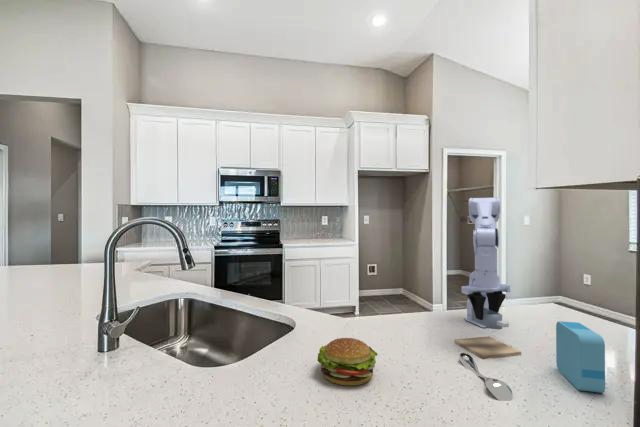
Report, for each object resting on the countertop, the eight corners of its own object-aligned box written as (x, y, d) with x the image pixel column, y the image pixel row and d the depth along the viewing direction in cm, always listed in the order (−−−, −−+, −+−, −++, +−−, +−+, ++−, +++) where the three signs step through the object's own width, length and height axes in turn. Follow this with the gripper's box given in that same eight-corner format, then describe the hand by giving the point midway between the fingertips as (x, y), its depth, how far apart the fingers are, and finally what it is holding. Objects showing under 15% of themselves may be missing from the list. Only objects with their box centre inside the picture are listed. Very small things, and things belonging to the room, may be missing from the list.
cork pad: (454, 342, 99) (454, 339, 99) (489, 339, 101) (489, 336, 101) (482, 358, 87) (482, 355, 87) (521, 354, 90) (521, 351, 90)
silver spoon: (454, 345, 87) (472, 345, 87) (453, 358, 87) (471, 358, 87) (494, 389, 67) (517, 389, 67) (493, 406, 67) (517, 406, 67)
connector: (468, 318, 99) (468, 306, 99) (480, 317, 100) (480, 306, 100) (499, 332, 87) (499, 319, 87) (512, 331, 88) (512, 318, 88)
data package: (605, 396, 69) (605, 338, 69) (580, 393, 70) (580, 336, 70) (577, 370, 81) (577, 320, 81) (556, 368, 82) (555, 319, 82)
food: (381, 365, 83) (381, 333, 83) (371, 393, 70) (371, 355, 70) (328, 357, 88) (329, 327, 88) (309, 382, 74) (310, 346, 74)
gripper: (473, 273, 89) (473, 324, 89) (518, 271, 92) (518, 320, 92) (456, 269, 96) (456, 316, 96) (499, 268, 99) (499, 313, 99)
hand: (486, 318), depth 94 cm, fingers closed on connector, 4 cm apart
